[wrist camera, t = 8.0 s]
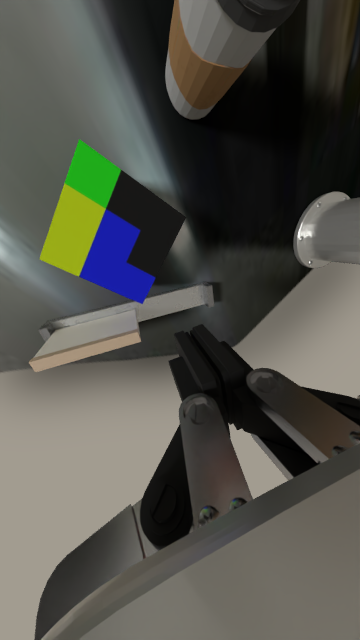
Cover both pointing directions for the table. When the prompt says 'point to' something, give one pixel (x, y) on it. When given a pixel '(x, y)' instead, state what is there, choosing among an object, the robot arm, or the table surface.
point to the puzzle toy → (110, 227)
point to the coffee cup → (215, 47)
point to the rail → (140, 307)
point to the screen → (87, 340)
